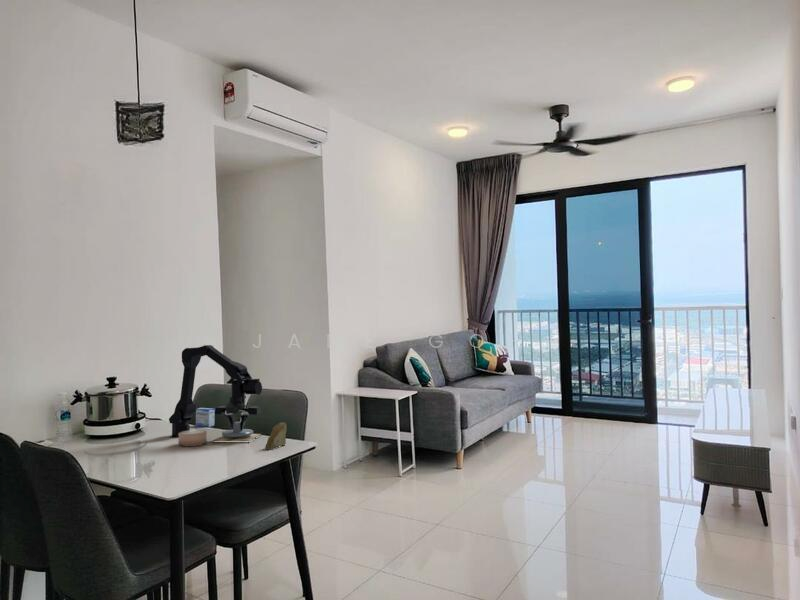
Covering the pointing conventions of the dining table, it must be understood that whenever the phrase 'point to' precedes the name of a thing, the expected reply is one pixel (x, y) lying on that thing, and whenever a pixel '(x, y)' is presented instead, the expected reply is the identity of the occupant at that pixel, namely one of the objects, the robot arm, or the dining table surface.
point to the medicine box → (205, 417)
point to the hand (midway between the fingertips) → (237, 430)
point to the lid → (237, 431)
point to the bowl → (192, 437)
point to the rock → (277, 436)
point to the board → (237, 438)
